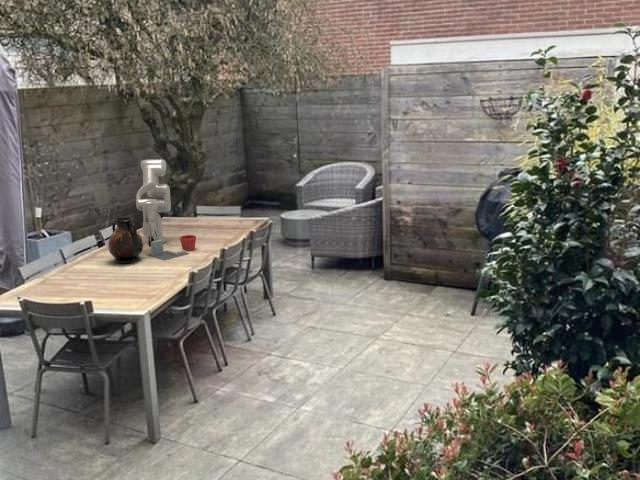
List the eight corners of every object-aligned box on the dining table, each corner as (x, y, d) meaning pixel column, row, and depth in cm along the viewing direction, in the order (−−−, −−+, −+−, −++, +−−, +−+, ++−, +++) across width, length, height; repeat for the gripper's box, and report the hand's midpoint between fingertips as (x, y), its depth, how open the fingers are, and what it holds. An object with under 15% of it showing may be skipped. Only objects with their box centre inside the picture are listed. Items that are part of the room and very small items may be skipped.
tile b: (151, 255, 397) (150, 242, 395) (161, 253, 403) (160, 239, 401) (153, 256, 396) (152, 242, 394) (163, 253, 402) (162, 240, 400)
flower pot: (193, 252, 407) (192, 238, 405) (178, 252, 409) (177, 238, 407) (199, 248, 417) (198, 235, 415) (184, 248, 419) (183, 234, 417)
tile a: (166, 250, 403) (175, 252, 397) (176, 248, 409) (185, 250, 403) (166, 253, 404) (175, 255, 398) (176, 250, 410) (185, 253, 404)
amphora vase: (151, 258, 393) (148, 216, 386) (128, 267, 374) (124, 223, 367) (126, 255, 402) (122, 214, 395) (102, 263, 383) (98, 220, 376)
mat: (146, 256, 399) (146, 255, 398) (172, 249, 414) (172, 249, 414) (164, 261, 386) (164, 260, 386) (190, 254, 402) (190, 253, 402)
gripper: (138, 219, 400) (140, 245, 404) (151, 221, 390) (153, 249, 395) (147, 217, 405) (149, 243, 410) (160, 220, 396) (162, 246, 400)
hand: (151, 246), depth 402 cm, fingers closed
